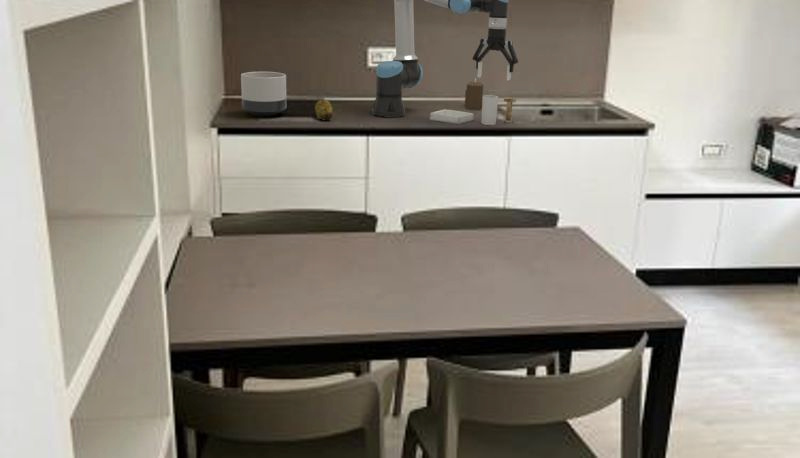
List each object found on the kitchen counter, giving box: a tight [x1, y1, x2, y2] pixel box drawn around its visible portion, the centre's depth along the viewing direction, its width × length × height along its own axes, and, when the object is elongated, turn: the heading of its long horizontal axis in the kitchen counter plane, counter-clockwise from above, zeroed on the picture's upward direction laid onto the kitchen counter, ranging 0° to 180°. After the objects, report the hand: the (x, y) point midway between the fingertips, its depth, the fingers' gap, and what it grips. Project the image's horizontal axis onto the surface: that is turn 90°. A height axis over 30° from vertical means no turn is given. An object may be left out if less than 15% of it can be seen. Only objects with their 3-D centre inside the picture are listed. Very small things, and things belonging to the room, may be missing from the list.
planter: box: [240, 71, 287, 117], centre depth 345 cm, size 19×19×18 cm
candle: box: [464, 77, 484, 111], centre depth 380 cm, size 14×14×15 cm
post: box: [503, 97, 517, 122], centre depth 350 cm, size 5×4×10 cm
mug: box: [481, 94, 499, 126], centre depth 345 cm, size 10×7×12 cm, turn 168°
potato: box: [314, 99, 334, 121], centre depth 342 cm, size 8×13×8 cm, turn 179°
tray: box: [429, 108, 475, 125], centre depth 350 cm, size 15×13×3 cm
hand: (493, 78), depth 340 cm, fingers open, 13 cm apart
